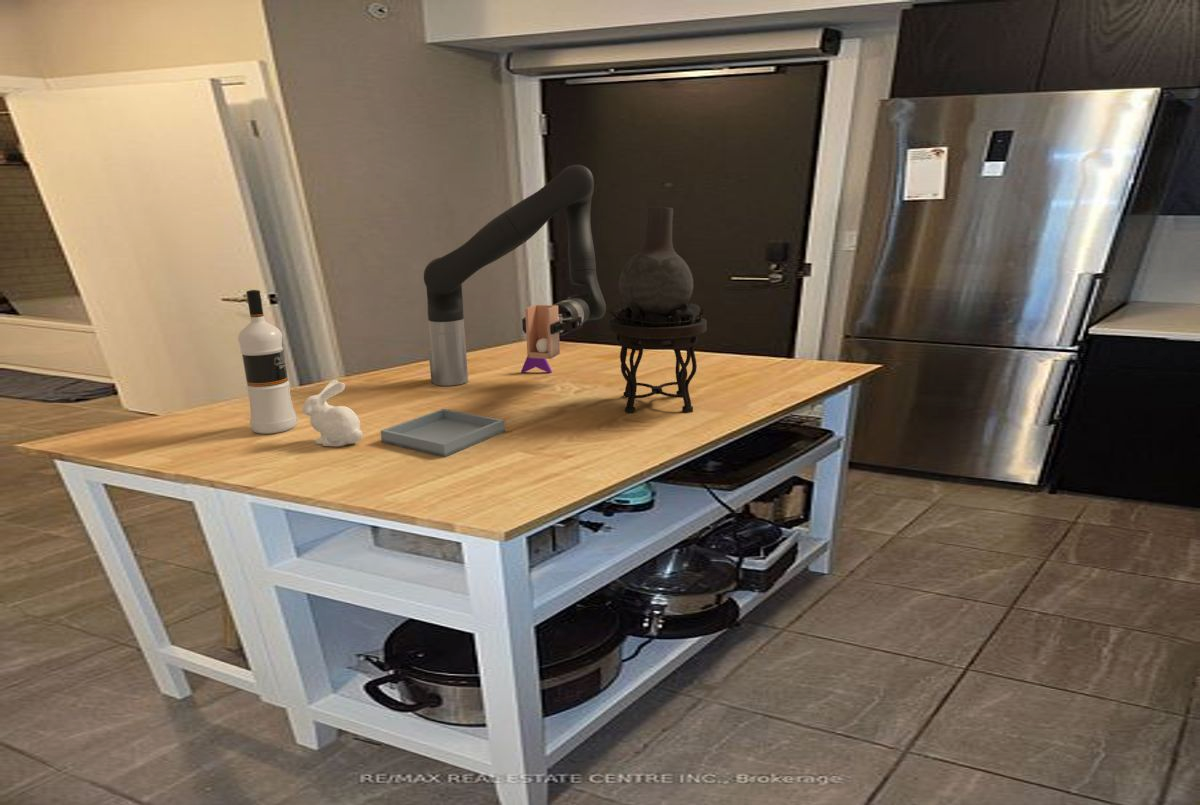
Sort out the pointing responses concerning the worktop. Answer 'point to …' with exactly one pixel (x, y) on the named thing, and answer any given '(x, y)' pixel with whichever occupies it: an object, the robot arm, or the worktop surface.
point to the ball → (542, 345)
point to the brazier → (657, 308)
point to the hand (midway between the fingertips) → (538, 329)
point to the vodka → (265, 372)
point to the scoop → (541, 330)
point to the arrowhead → (536, 364)
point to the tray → (443, 432)
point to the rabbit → (332, 418)
